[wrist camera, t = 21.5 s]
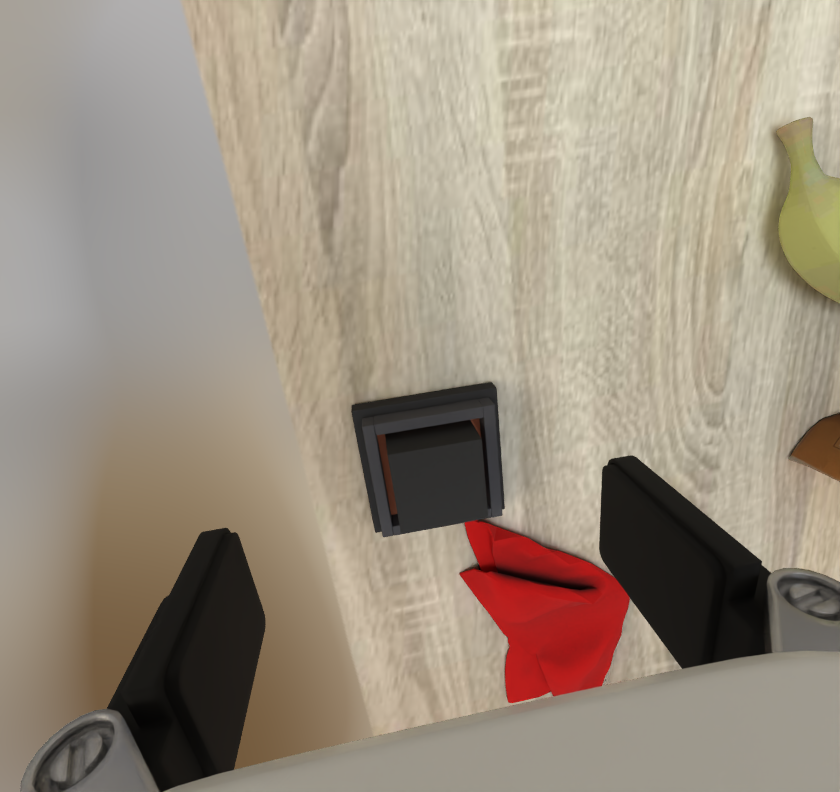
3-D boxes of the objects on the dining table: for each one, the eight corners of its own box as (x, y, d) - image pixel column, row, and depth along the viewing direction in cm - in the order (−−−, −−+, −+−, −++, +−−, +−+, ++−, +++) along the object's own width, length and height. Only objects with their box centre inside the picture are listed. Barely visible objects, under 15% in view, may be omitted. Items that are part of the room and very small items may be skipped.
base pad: (374, 523, 35) (375, 546, 32) (351, 404, 31) (350, 419, 29) (500, 500, 35) (511, 521, 33) (491, 381, 32) (503, 394, 29)
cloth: (641, 683, 45) (655, 706, 43) (512, 727, 45) (519, 752, 43) (606, 470, 36) (622, 486, 33) (442, 525, 35) (447, 543, 33)
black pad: (397, 506, 33) (400, 534, 30) (384, 433, 31) (387, 455, 28) (477, 492, 33) (488, 517, 30) (470, 419, 31) (482, 438, 28)
